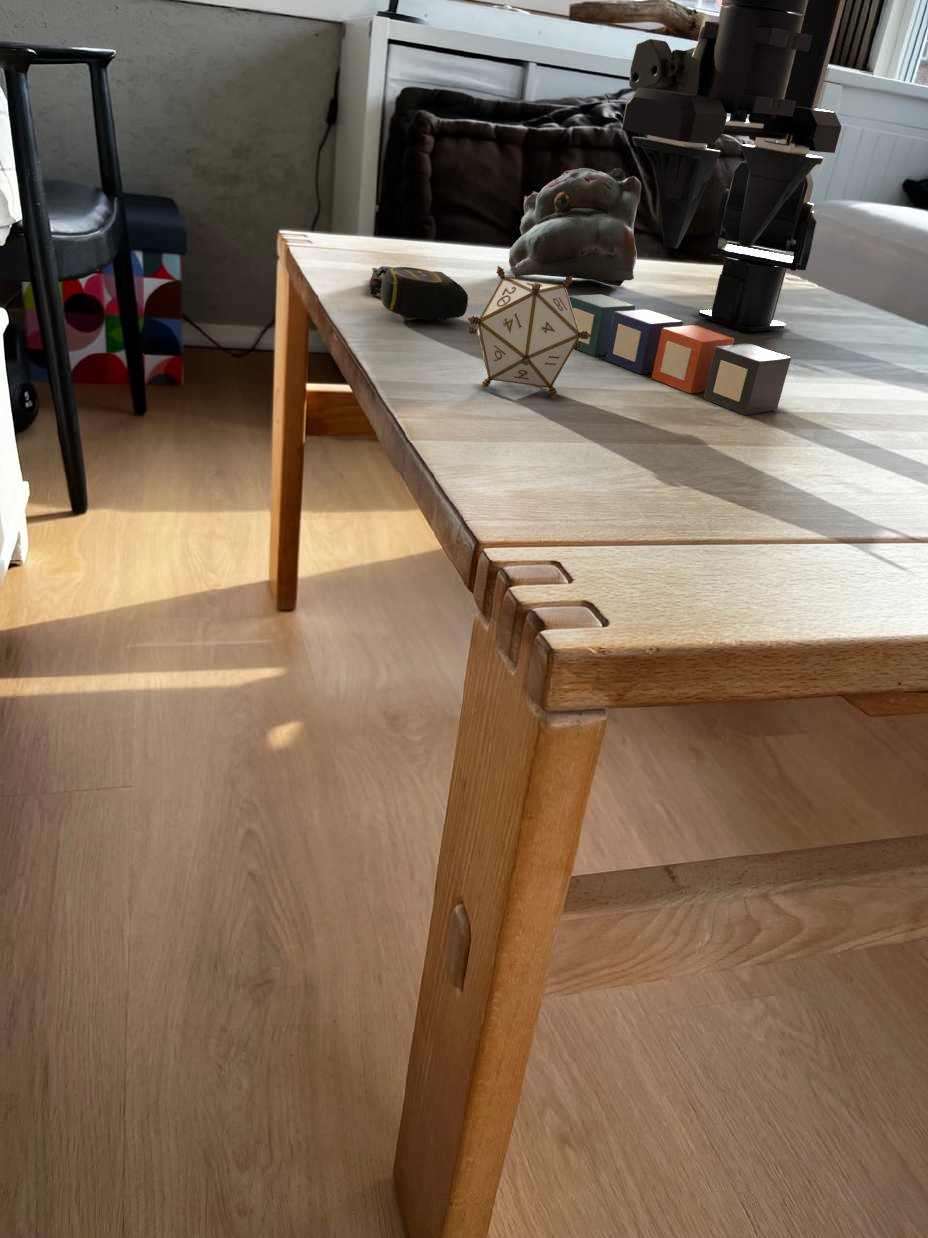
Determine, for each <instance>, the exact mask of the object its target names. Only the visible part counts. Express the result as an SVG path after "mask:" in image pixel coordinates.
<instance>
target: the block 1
mask: <svg viewBox="0 0 928 1238" xmlns="http://www.w3.org/2000/svg"><path fill="white" fill-rule="evenodd" d="M568 296H569V300H570V303H571V306H572V309H573V312H574V315H575V319H576V322H577V325H578V328H579V331H580V333H581V332H583V331H584V332H586V331H587V332H588V333H589V334H590V335H591V336H590V337H589V338H588V339H582V338H579V340H578V341H579V342H580V343H581V345H582V346H580V347H578V348H577V349H576V347H575V348H574V349H575V350H578V351H580V352H582V353H585V354H587V355H591V356H593V357H598V356H600V357H601V356H606V353H607V347H608V342H609V337H610V332H611V326H612V321H613V316H614V312H616V311H631V310H636V305H635V304H632V303H630V302H626V301H623V300H620V299H617V298H614V297H611V296H608V295H605V294H603V293H600V294H599V293H597V294H580V295H579V294H578V295H568Z"/></svg>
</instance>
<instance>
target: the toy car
mask: <svg viewBox="0 0 928 1238" xmlns="http://www.w3.org/2000/svg"><path fill="white" fill-rule="evenodd" d="M394 267H395V266H387V265H383V266H380V267H378V268H377V267H372V268H371V270H372V275H371V277H370V278H369V293H370V295H376V296H377V294H378V293H380V294H381V285H382V280H383V277H384V276H385V274H386V271H387V270H388V269H391V268H394Z"/></svg>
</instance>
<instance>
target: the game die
mask: <svg viewBox="0 0 928 1238" xmlns="http://www.w3.org/2000/svg"><path fill="white" fill-rule="evenodd" d="M496 269H497V270H496V274H497V277H499V279H500V280H499V282H498V283H497V286H496V287H495V289H494V291H493V292H492V294H491V296H490V298H489V300H488V301H487V303H486V305H485V306H484V309H483V311H482V312H481V314H480V316H479V317H478V316H475V315H472V316H471V317H469V318H467V321H468V322H469V324H470V325H475V326H469V327H468V328H467V329H466V331H467V332H468V333H469V334H470V335H472V334H473V335H475V334H476V336H477V340H478V343H479V347H480V350H481V355H482V358H483V362H484V366H485V369H486V373H487V378H484V379H483V381H482V387H481V390H483V389H486V388H489V386H490V385H491V382H492V381H496V382H503V383H504V382H505V383H511V384H517V385H518V384H519V385H526V386H535V387H540V388H547V389H548V391H547V392H548V393H549V396H551V397H552V398H553V399H556V398H557V393H558V391H557V390H556V388H555V387H554V384H555V382H556V381H557V378H558V377H559V375H560V373H561V371H562V370H563V368H564V366H565V364H566V363H567V361H568V359H569V357H570V355H572V352H573V351H574V349H575V347H576V349H575V350H577V348H578V347H580V346H582V345H581V343H580V342H579V341H578V340H579V338H582V339H588V338H589V337H590V336H591V335H590V334H589V333H588V332H587V331H586V332H584V331H583V332H581V333H580V331H579V328H578V325H577V322H576V319H575V315H574V312H573V309H572V306H571V303H570V300H569V296H570V295H569V294H568V290H567V287H570V286H571V284H573V281H572V280H573V278H572V276H570V277H568V278H567V277H565V280H563V283H562V284H560V283H553V282H546V281H539V280H533V279H532V280H530V279H523V278H518V277H516V278H515V277H509V276H506V275H505V273H506V272H505V271H504V270H505V269H504V268H502V267H501V266H499V265H497V268H496Z"/></svg>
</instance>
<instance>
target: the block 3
mask: <svg viewBox="0 0 928 1238" xmlns="http://www.w3.org/2000/svg"><path fill="white" fill-rule="evenodd" d="M791 360H792V357H791V356H787V355H785V354H781V353H779V352H775V351H773V350H769V349H767V348H763V347H760V346H758V345H754V344H752V343H738V344H733V345H728V346H718V347H716V348H715V353H714V357H713V361H712V365H711V369H710V373H709V377H708V382H707V386H706V390H705V391H704V395H703V400H704V401H708V402H710V403H713V404H715V405H718V406H721V407H723V408H725V409H728V410H731V411H732V412H735V413H738V414H741V415H744V416H748V415H749V416H750V415H755V414H760V413H766V412H771V411H777V410H778V408H779V404H780V399H781V396H782V394H783V393H782V392H783V389H784V385H785V381H786V379H787V375H788V372H789V368H790V364H791Z"/></svg>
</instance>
